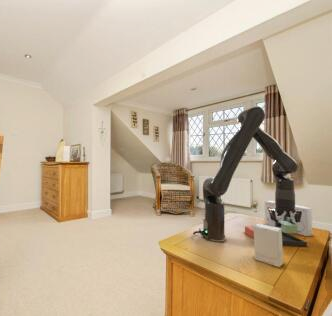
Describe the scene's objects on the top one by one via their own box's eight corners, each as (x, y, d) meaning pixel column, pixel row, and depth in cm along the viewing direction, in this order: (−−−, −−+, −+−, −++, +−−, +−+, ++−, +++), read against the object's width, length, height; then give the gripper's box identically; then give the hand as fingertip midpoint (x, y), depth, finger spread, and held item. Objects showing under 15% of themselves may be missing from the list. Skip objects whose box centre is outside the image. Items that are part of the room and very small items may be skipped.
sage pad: (285, 232, 99) (284, 225, 99) (274, 227, 106) (273, 220, 106) (297, 233, 98) (297, 225, 98) (285, 228, 105) (285, 220, 105)
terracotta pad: (252, 238, 106) (252, 230, 106) (244, 232, 114) (244, 226, 114) (264, 238, 106) (264, 231, 106) (255, 233, 113) (255, 226, 113)
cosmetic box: (283, 263, 80) (283, 228, 80) (279, 268, 77) (279, 231, 77) (258, 255, 87) (258, 222, 87) (253, 259, 84) (253, 225, 84)
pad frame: (280, 245, 98) (280, 240, 98) (255, 231, 116) (255, 227, 116) (306, 246, 96) (306, 242, 96) (278, 232, 114) (278, 228, 114)
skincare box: (264, 224, 128) (264, 200, 128) (269, 223, 130) (269, 200, 130) (307, 236, 108) (306, 208, 108) (313, 235, 110) (312, 207, 110)
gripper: (294, 196, 104) (294, 227, 104) (264, 196, 107) (264, 226, 107) (307, 199, 97) (307, 233, 97) (274, 198, 99) (275, 231, 99)
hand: (285, 229), depth 102 cm, fingers closed on sage pad, 5 cm apart
